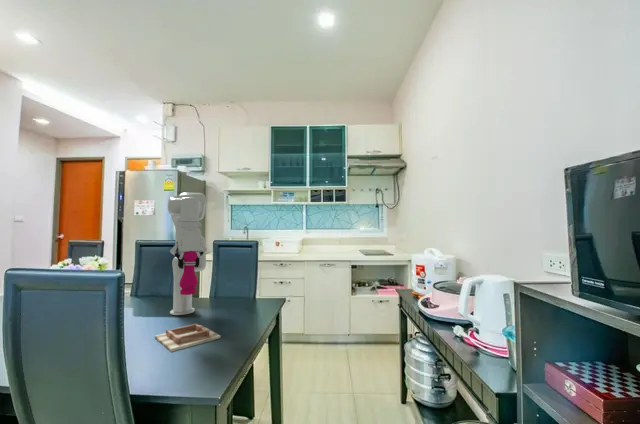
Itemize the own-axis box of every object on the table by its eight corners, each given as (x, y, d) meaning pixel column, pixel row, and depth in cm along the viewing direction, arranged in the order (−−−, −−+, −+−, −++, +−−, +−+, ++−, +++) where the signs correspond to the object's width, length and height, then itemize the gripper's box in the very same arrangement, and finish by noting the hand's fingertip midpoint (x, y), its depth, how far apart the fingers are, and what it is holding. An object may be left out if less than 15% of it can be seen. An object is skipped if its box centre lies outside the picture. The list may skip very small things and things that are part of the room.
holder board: (154, 337, 130) (154, 330, 130) (201, 327, 144) (201, 320, 144) (170, 351, 115) (171, 343, 116) (220, 338, 129) (220, 330, 129)
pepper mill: (190, 295, 125) (192, 246, 127) (175, 294, 126) (177, 246, 128) (200, 292, 132) (202, 246, 134) (185, 292, 133) (187, 246, 135)
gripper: (205, 225, 140) (204, 265, 139) (165, 225, 128) (164, 268, 127) (212, 225, 135) (211, 266, 134) (171, 225, 123) (170, 270, 122)
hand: (188, 267), depth 131 cm, fingers closed on pepper mill, 5 cm apart
